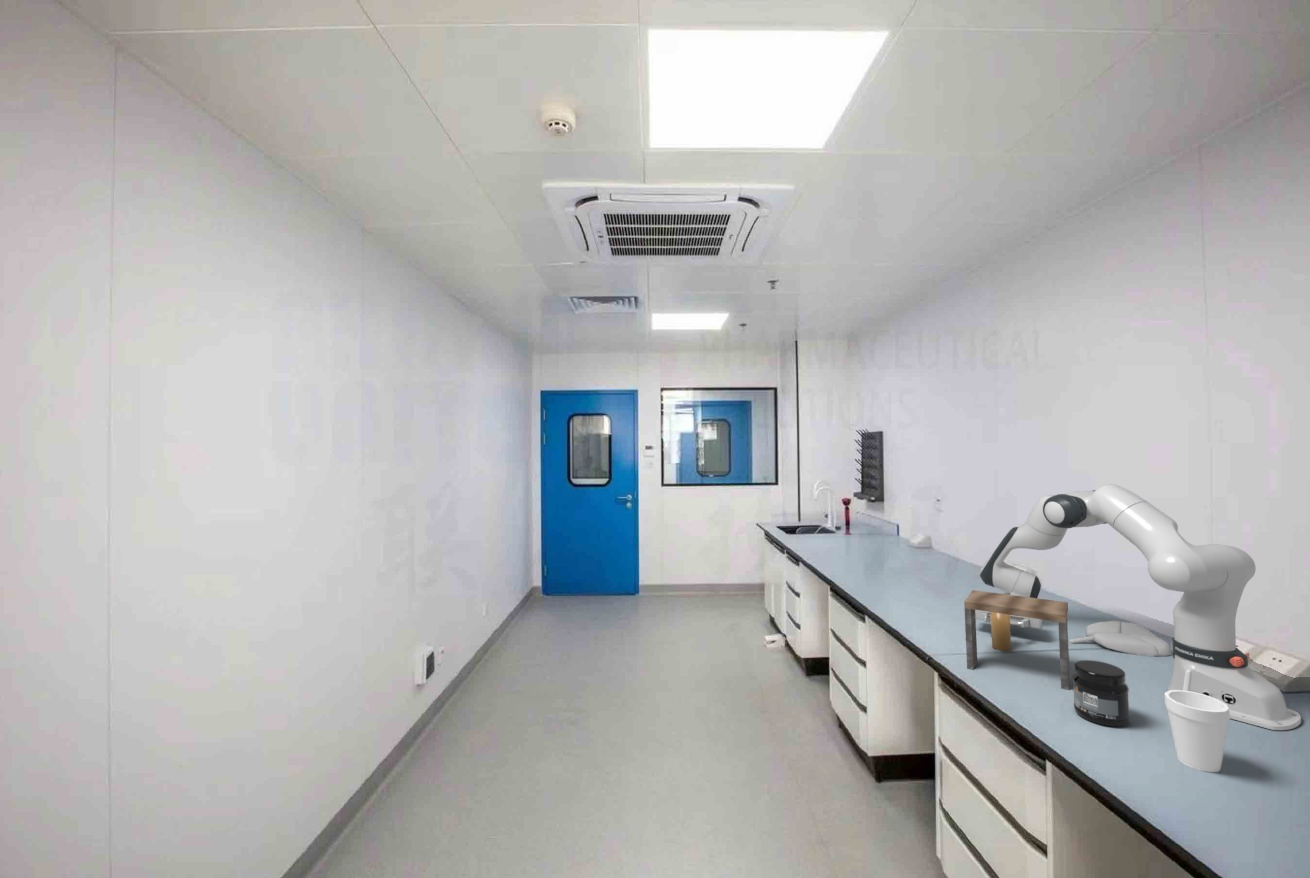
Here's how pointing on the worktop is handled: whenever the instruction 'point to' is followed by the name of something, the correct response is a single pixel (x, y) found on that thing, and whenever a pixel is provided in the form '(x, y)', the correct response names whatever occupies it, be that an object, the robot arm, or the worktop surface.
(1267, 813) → the worktop surface
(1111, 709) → the supplement container
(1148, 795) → the worktop surface
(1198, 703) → the foam cup
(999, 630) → the amber bottle
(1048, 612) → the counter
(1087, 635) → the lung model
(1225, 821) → the worktop surface
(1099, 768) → the worktop surface
